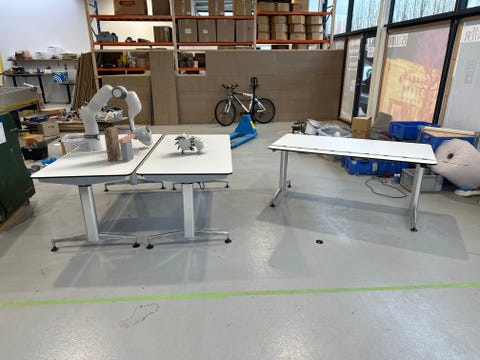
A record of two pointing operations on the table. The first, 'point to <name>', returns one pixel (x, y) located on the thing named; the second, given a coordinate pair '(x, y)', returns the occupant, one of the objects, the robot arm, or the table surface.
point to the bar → (126, 138)
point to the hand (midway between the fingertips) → (136, 132)
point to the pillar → (112, 144)
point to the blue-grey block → (126, 151)
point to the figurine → (190, 143)
